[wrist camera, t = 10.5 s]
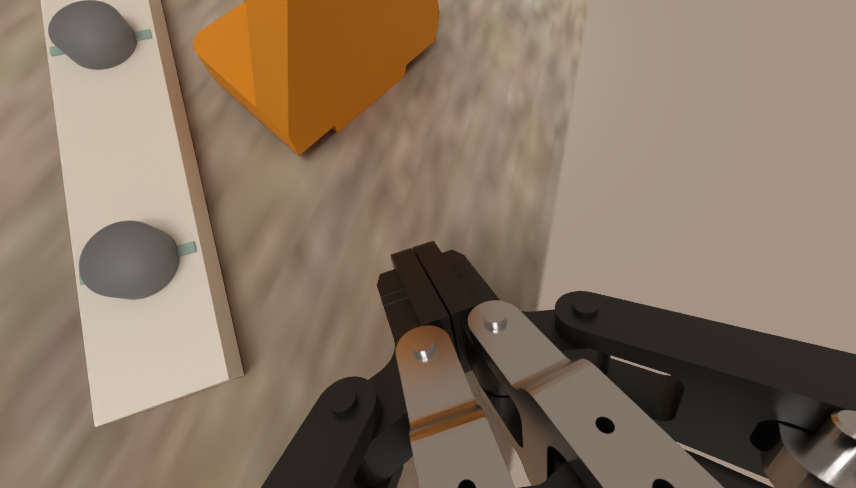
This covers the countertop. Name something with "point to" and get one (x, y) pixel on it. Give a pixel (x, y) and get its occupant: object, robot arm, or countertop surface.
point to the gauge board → (135, 210)
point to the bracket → (314, 58)
